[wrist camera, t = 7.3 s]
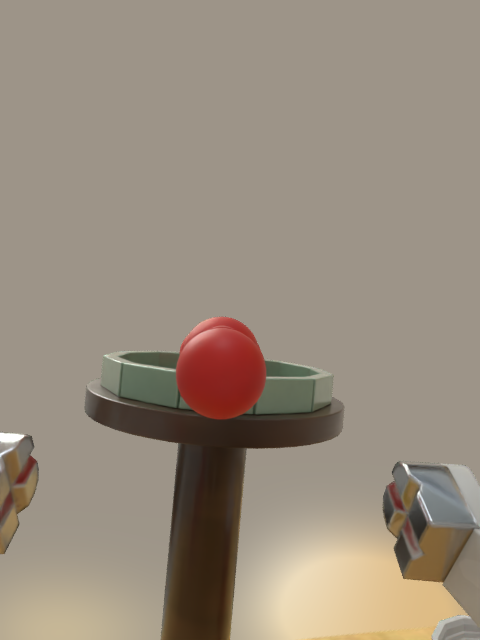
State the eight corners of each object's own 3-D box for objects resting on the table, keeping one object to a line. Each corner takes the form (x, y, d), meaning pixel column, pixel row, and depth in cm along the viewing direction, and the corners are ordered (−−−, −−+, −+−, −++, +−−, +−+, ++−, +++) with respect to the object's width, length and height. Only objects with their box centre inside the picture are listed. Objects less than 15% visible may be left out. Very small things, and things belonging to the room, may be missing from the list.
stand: (256, 678, 37) (282, 378, 38) (360, 930, 22) (403, 422, 22) (59, 712, 33) (91, 368, 33) (17, 1063, 17) (77, 415, 18)
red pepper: (182, 372, 33) (187, 315, 33) (254, 378, 33) (260, 322, 33) (78, 497, 9) (99, 293, 9) (336, 517, 9) (354, 318, 9)
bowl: (278, 379, 37) (279, 358, 37) (381, 418, 23) (383, 384, 23) (101, 370, 32) (104, 346, 32) (98, 411, 19) (102, 370, 19)
